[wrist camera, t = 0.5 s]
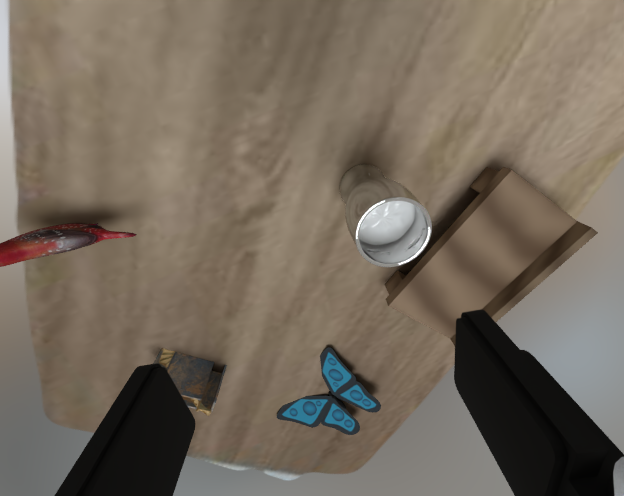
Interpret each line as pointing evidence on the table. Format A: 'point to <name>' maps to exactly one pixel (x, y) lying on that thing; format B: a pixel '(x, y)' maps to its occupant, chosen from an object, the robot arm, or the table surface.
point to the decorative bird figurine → (54, 241)
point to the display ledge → (488, 254)
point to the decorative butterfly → (332, 399)
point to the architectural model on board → (192, 379)
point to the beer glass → (383, 217)
